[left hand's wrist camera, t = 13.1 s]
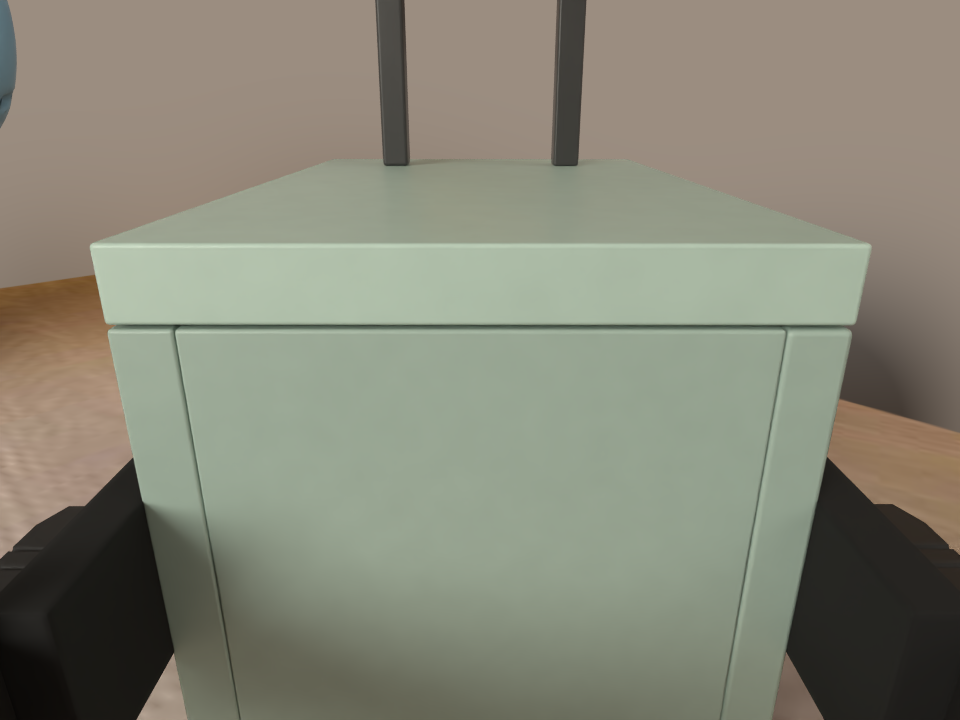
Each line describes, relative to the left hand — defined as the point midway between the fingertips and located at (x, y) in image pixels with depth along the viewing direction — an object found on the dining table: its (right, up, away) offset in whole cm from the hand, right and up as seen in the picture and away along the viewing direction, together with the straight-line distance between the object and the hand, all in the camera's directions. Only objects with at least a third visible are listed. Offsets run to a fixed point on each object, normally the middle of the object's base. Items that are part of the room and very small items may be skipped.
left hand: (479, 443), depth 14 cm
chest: (0, -6, +5) cm, 7 cm away
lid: (0, +5, +1) cm, 5 cm away
